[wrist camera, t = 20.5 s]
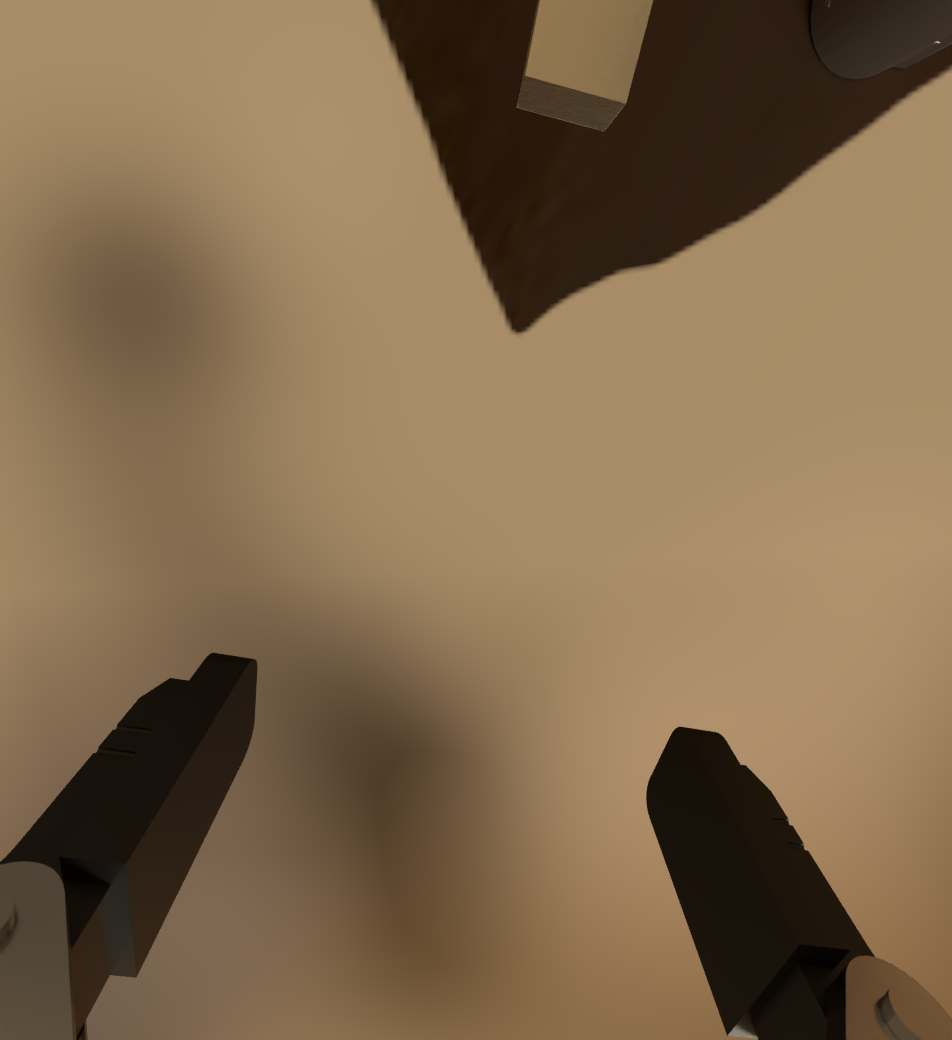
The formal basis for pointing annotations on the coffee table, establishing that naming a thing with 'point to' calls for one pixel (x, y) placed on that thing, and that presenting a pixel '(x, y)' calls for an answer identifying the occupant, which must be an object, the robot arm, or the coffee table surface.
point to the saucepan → (583, 59)
